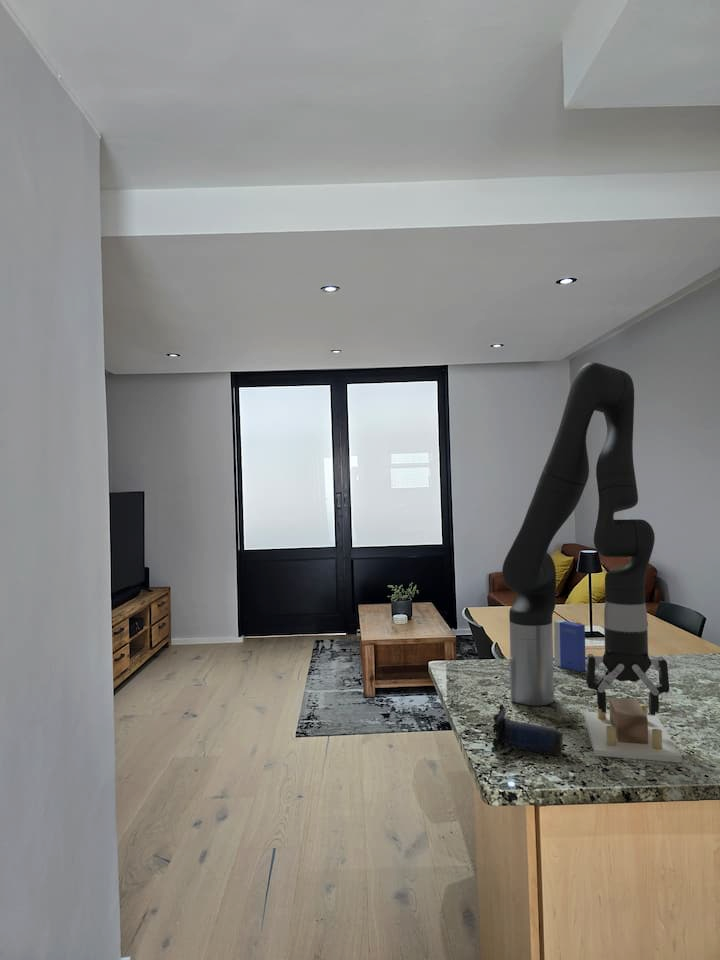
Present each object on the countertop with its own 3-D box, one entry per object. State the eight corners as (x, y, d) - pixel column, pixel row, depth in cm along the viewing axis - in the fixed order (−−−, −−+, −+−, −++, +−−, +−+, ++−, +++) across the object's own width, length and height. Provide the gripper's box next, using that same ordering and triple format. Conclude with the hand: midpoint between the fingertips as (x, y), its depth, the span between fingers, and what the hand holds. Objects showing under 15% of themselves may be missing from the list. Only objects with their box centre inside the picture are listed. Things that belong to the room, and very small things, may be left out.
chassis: (594, 755, 114) (594, 732, 114) (583, 716, 134) (583, 696, 134) (681, 762, 111) (681, 738, 111) (657, 721, 130) (657, 701, 130)
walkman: (585, 670, 167) (584, 623, 167) (578, 672, 166) (577, 624, 166) (561, 663, 174) (560, 618, 174) (554, 665, 172) (553, 619, 172)
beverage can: (490, 760, 116) (560, 773, 112) (490, 721, 115) (561, 732, 111) (498, 733, 125) (563, 744, 121) (498, 696, 123) (564, 705, 119)
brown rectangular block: (618, 742, 118) (617, 716, 118) (609, 720, 128) (609, 697, 128) (648, 744, 116) (647, 718, 116) (637, 722, 127) (636, 699, 127)
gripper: (662, 623, 125) (664, 708, 124) (583, 620, 128) (585, 703, 128) (671, 631, 117) (673, 722, 117) (587, 628, 121) (589, 717, 120)
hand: (627, 712), depth 122 cm, fingers open, 8 cm apart
